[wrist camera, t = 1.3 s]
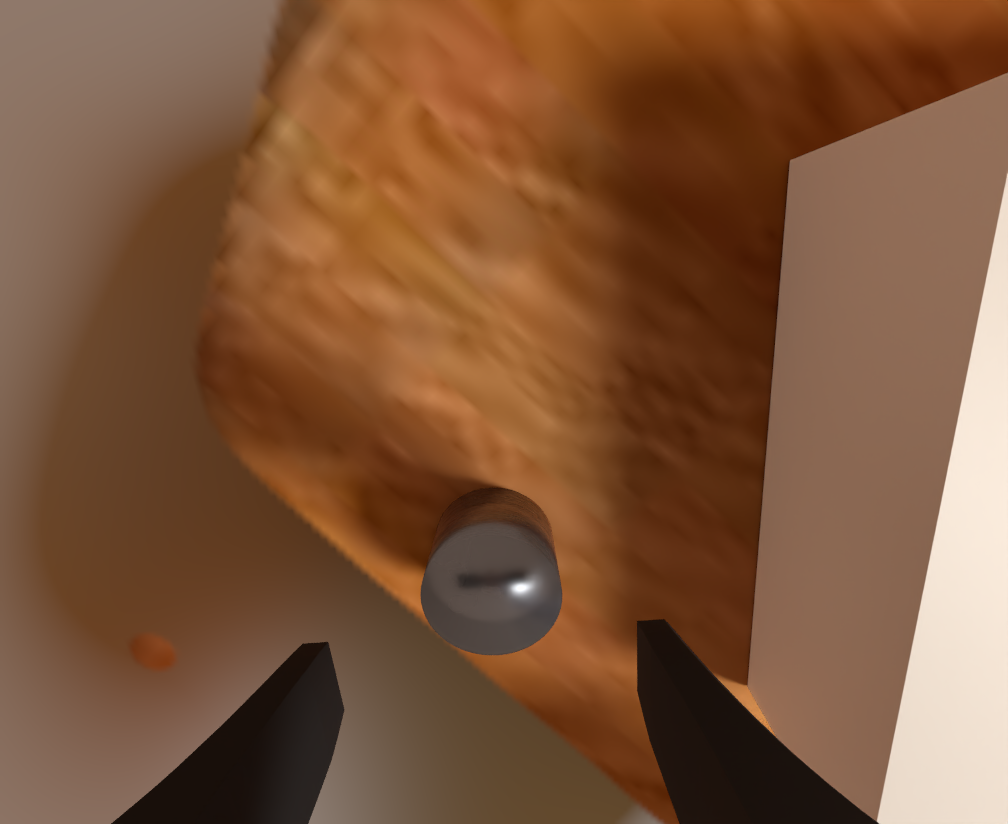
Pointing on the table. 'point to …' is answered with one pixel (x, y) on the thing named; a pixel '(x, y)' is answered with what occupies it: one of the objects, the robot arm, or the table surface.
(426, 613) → the dark grey rounded piece
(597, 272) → the table surface
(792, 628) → the box
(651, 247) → the table surface
